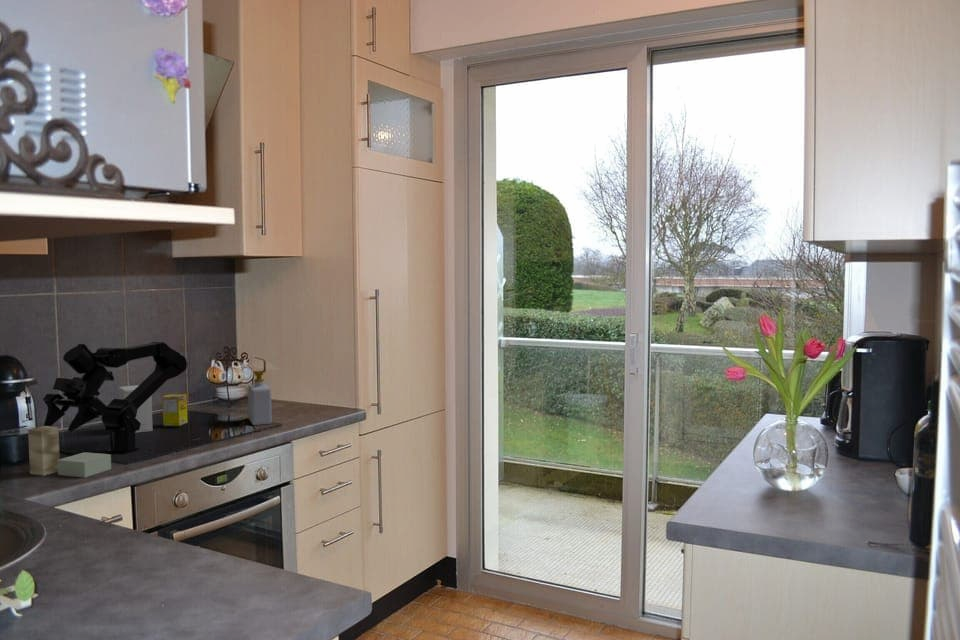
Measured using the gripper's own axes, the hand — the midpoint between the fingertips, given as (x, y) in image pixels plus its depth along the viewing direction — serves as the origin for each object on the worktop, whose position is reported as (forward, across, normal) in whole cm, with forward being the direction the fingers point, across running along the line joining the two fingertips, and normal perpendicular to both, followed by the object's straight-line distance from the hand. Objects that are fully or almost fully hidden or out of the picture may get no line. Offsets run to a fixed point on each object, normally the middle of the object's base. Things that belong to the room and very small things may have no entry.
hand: (56, 429), depth 206 cm
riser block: (+8, +10, +8) cm, 15 cm away
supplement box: (-32, -12, +48) cm, 59 cm away
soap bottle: (-44, +11, +59) cm, 74 cm away
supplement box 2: (-25, -20, +40) cm, 51 cm away
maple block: (+10, 0, +5) cm, 12 cm away
